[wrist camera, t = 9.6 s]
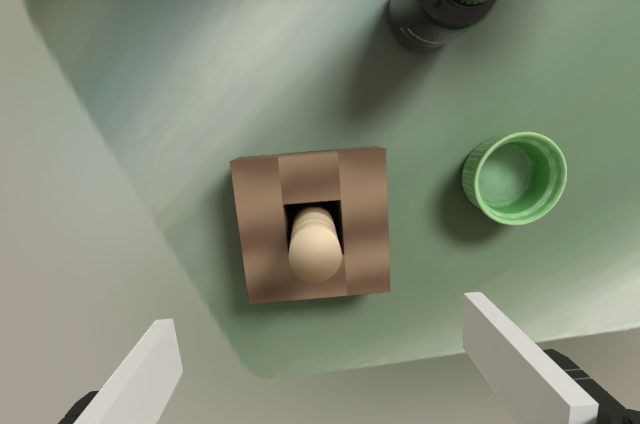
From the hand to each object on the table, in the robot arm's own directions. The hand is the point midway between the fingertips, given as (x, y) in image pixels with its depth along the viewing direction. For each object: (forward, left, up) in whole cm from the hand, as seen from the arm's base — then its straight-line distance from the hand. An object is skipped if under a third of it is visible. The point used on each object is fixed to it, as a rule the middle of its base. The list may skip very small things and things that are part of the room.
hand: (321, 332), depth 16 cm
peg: (0, 0, -23) cm, 23 cm away
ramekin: (-3, +20, -23) cm, 31 cm away
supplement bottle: (-19, +12, -23) cm, 32 cm away
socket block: (0, 0, -23) cm, 23 cm away
